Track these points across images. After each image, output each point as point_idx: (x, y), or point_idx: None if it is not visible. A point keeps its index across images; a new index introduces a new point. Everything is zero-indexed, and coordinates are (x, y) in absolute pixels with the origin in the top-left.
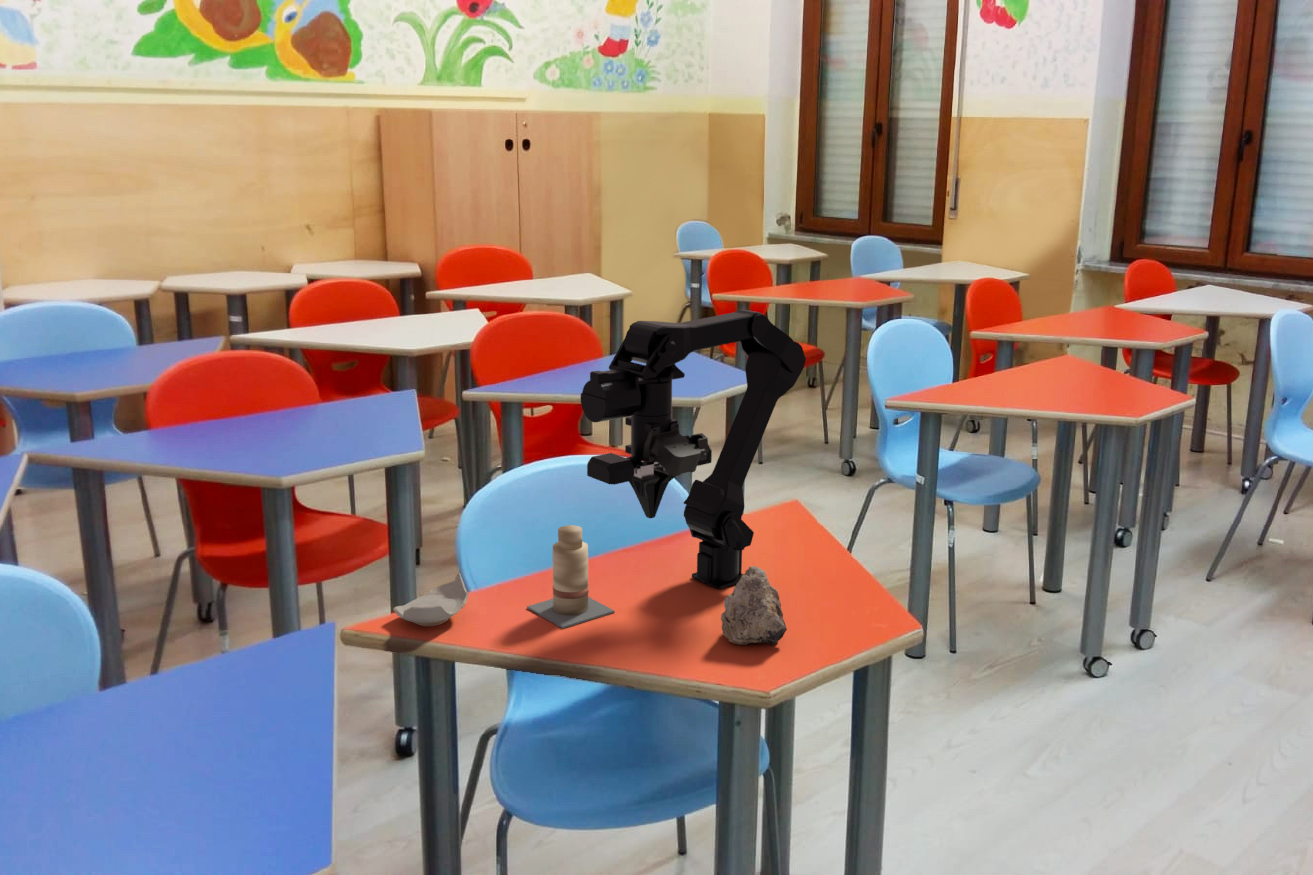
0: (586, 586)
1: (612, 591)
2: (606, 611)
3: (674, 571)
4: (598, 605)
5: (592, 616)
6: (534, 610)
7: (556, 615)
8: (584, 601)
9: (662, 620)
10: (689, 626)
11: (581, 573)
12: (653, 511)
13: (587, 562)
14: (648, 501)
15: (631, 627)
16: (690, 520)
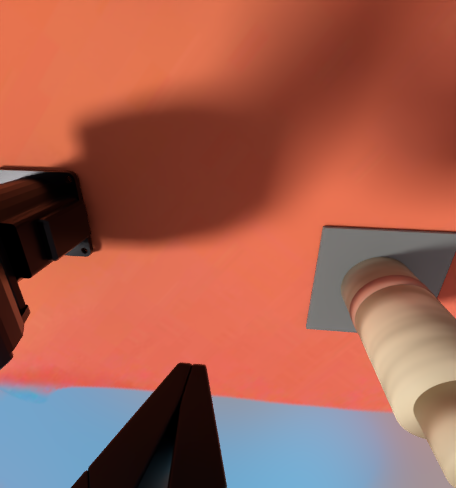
0: (386, 290)
1: (253, 296)
2: (338, 234)
3: (105, 290)
4: (327, 264)
5: (379, 233)
6: None
7: (422, 279)
8: (383, 269)
9: (278, 127)
10: (254, 52)
11: (428, 312)
12: (185, 388)
13: (406, 334)
14: (223, 467)
15: (357, 144)
16: (6, 327)
